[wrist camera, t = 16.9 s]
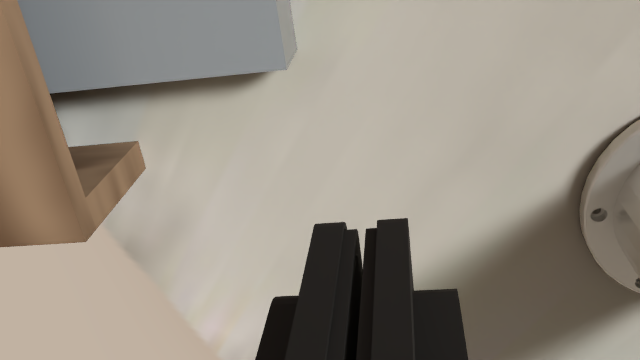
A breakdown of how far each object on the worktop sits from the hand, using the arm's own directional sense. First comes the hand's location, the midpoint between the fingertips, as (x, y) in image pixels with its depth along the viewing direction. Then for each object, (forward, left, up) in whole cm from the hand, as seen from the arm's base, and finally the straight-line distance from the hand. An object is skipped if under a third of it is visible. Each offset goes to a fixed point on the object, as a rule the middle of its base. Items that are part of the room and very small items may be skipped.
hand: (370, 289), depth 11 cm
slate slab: (+13, -1, -23) cm, 27 cm away
